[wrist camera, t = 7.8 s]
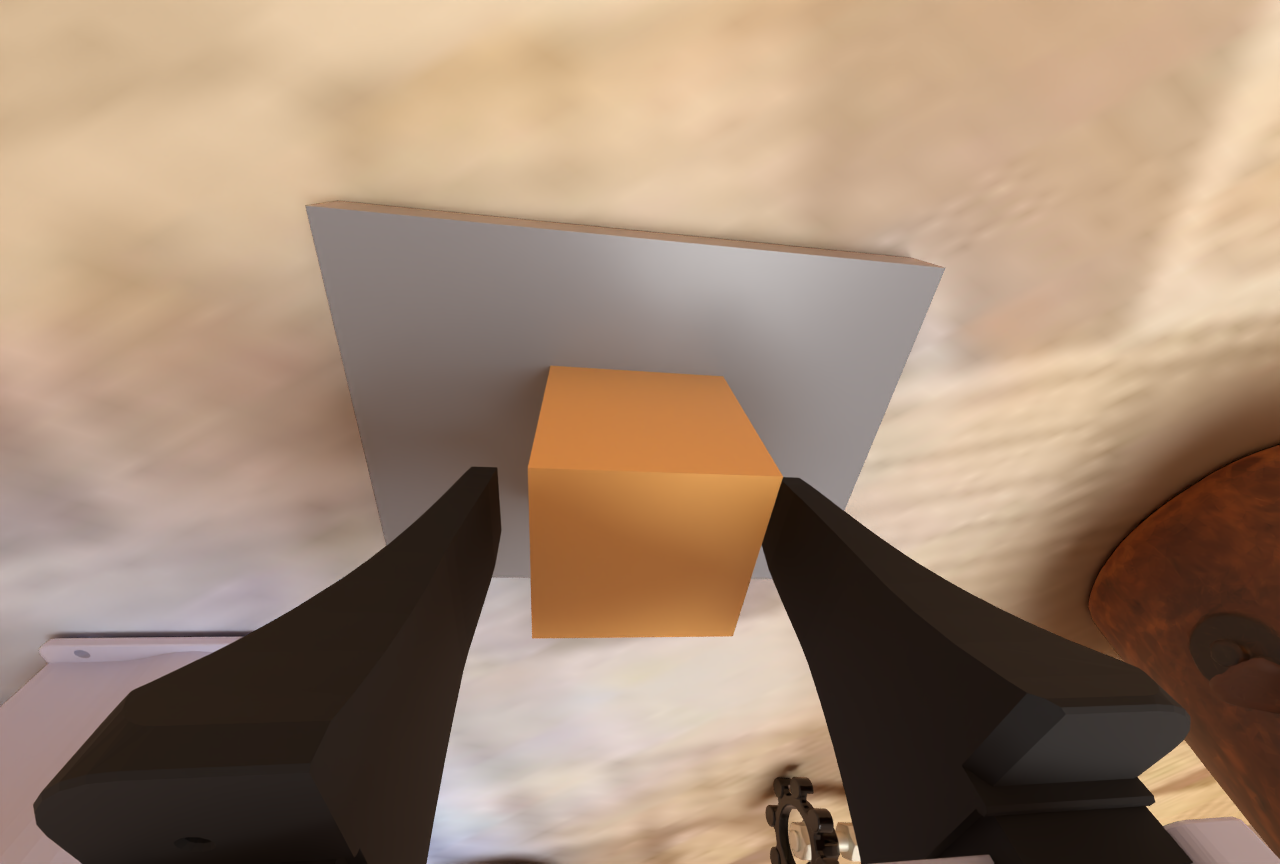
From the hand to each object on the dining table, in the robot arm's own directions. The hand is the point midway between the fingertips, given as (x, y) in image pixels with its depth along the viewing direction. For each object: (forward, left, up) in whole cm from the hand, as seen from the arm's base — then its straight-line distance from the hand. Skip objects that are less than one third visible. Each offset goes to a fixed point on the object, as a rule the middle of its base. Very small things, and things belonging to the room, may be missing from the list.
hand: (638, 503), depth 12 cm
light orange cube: (0, 0, -3) cm, 3 cm away
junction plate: (0, 0, -4) cm, 4 cm away
